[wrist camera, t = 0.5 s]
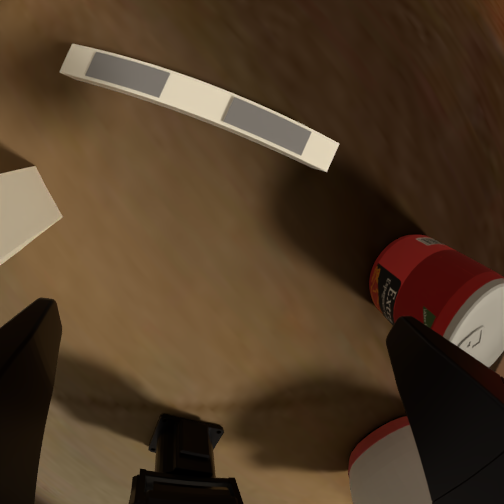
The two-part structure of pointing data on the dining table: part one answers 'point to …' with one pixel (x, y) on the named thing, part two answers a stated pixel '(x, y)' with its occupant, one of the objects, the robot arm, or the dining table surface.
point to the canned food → (441, 294)
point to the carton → (23, 210)
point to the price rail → (200, 103)
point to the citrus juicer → (388, 467)
